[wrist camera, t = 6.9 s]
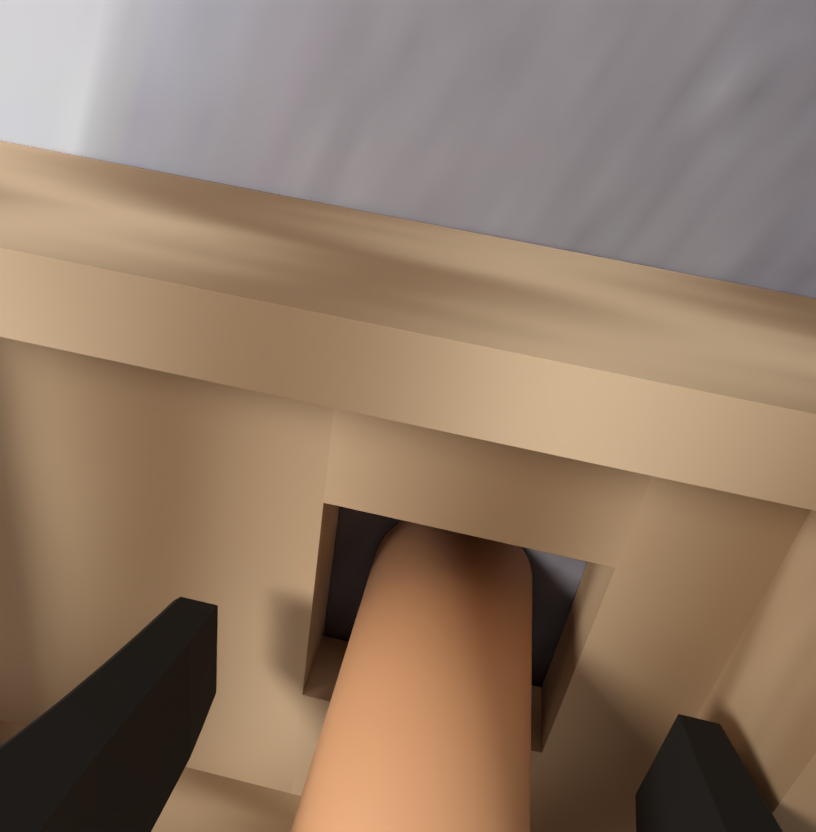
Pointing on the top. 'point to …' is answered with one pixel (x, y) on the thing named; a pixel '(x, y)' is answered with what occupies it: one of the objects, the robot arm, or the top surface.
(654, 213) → the top surface
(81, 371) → the box
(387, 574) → the peg
